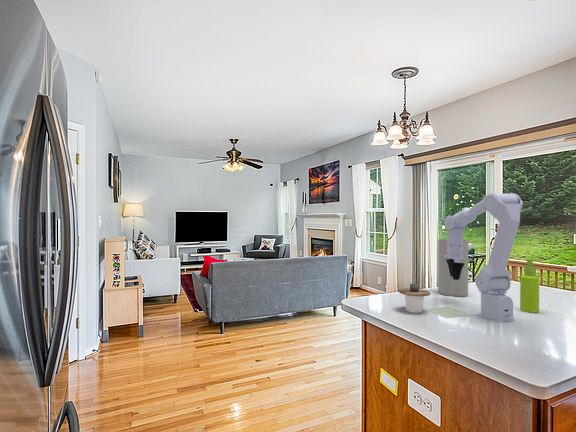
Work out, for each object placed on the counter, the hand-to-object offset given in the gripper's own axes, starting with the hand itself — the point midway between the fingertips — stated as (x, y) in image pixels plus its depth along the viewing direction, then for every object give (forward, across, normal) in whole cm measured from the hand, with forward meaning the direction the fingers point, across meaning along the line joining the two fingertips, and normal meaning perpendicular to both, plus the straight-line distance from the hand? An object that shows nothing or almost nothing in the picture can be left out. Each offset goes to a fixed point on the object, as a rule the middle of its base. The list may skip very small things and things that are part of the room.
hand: (454, 278), depth 140 cm
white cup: (+11, +19, -16) cm, 27 cm away
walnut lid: (+3, +19, -16) cm, 25 cm away
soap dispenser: (+11, +2, +26) cm, 28 cm away
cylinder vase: (+11, -18, +2) cm, 21 cm away
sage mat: (+10, +16, -4) cm, 20 cm away
